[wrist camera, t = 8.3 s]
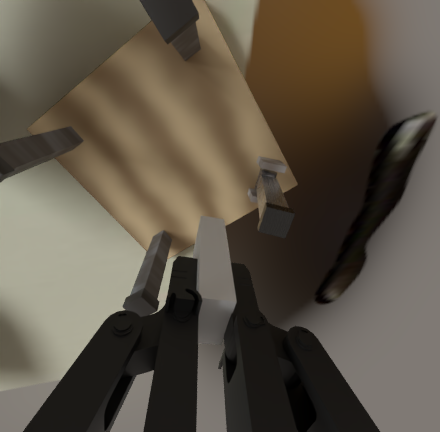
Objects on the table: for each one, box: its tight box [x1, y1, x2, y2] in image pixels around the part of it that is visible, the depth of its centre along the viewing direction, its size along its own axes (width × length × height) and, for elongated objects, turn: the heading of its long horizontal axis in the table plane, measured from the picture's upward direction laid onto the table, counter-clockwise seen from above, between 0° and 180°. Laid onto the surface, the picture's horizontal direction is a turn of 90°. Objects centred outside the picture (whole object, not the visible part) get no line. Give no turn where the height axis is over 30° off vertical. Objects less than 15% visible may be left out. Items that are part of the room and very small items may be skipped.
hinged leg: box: [255, 168, 295, 238], centre depth 25 cm, size 13×3×2 cm
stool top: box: [0, 0, 298, 317], centre depth 25 cm, size 24×24×16 cm
